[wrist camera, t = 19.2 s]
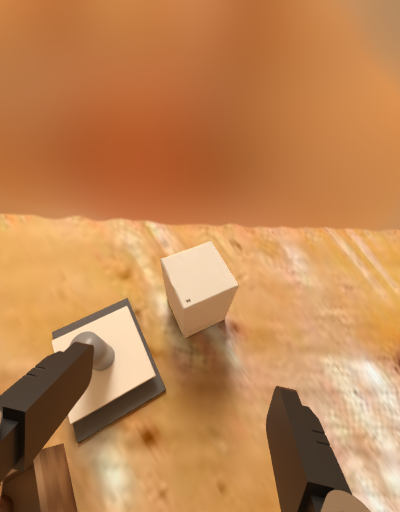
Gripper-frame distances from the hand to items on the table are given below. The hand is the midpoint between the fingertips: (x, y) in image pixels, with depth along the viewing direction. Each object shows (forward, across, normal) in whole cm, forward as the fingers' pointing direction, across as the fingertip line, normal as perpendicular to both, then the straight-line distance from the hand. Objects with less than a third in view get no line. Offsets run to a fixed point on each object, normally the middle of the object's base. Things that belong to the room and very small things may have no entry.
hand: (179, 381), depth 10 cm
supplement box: (+35, +1, +13) cm, 37 cm away
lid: (+26, +14, +21) cm, 36 cm away
